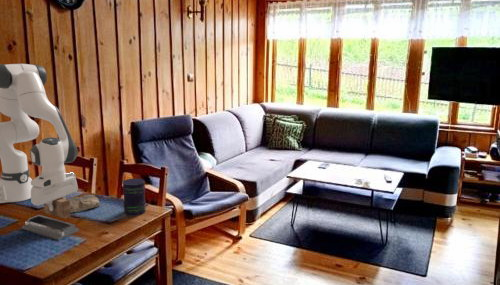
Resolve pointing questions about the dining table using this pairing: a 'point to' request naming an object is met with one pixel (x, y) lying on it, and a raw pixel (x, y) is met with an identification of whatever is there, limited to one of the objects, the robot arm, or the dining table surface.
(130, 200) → the storage jar
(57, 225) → the grey rectangular tray
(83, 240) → the dining table surface
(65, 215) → the wooden block
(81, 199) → the grey brown rock
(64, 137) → the robot arm
